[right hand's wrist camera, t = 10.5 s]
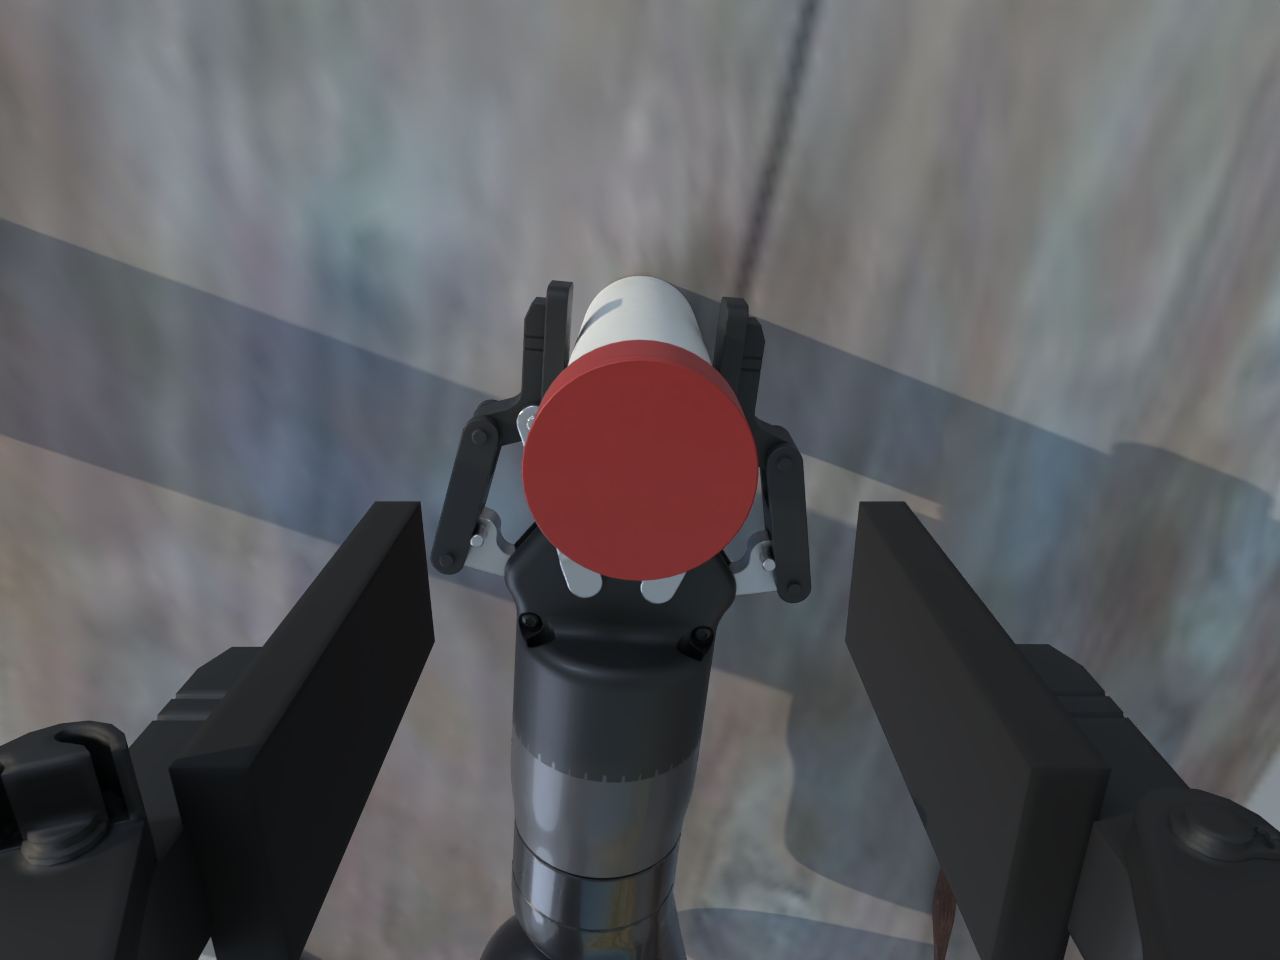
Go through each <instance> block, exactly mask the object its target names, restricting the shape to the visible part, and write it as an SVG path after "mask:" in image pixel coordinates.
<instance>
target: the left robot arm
mask: <svg viewBox="0 0 1280 960" xmlns="http://www.w3.org/2000/svg"><path fill="white" fill-rule="evenodd" d="M572 302H573V282H565V281H554V280H552V281H551V283H550V284H549V285H548V289H547V296H546V298H543V297H536V298H535V300H534V301H533V302H532V304H531V306H530V308H529V310H528V312H527V314H526V317H525V319H524V344H523V368H522V390H521V393H520V394H518V395H517V396H515V397H513V398H509V399H505V400H502V401H496V400H486V401H484V402H482V403H481V404H480V405H479V406H478V407H477V409H476V411H475V412H474V415H473V418H472V419H470V420H469V421H468V423H467V424H466V426H465V427H464V429H463V432H462V436H461V440H460V444H459V448H458V451H457V455H456V459H455V463H454V467H453V471H452V475H451V479H450V482H449V486H448V490H447V494H446V498H445V502H444V506H443V510H442V513H441V517H440V521H439V525H438V529H437V533H436V537H435V540H434V544H433V548H432V552H431V557H430V558H431V563H432V565H433V567H434V568H435V569H436V570H437V571H439V572H441V573H443V574H455V573H457V572H459V571H460V570H461V569H462V568H463V566H467V567H471V568H474V569H478V570H481V571H485V572H488V573H492V574H495V575H499V576H503V577H504V578H505V583H506V585H507V588H508V589H509V591H510V593H511V594H512V596H513V598H514V601H515V604H516V608H517V628H516V651H515V674H514V698H513V720H512V745H511V781H512V790H513V797H514V805H515V827H514V849H513V861H512V896H513V904H514V909H515V913H516V914H515V915H513V916H512V917H510V918H509V919H508V920H507V921H506V922H505V923H504V924H502V925H501V926H500V927H499V929H498V930H497V931H496V932H495V933H494V935H493V936H492V937H491V939H490V941H489V942H488V944H487V946H486V948H485V949H484V951H483V953H482V956H481V958H480V960H687V958H686V954H685V949H684V945H683V941H682V936H681V931H680V926H679V921H678V915H677V909H676V904H675V899H674V894H673V888H674V880H675V872H676V864H677V857H678V850H679V843H680V836H681V829H682V824H683V820H684V816H685V813H686V810H687V807H688V804H689V801H690V798H691V794H692V791H693V786H694V781H695V775H696V768H697V761H698V754H699V747H700V740H701V734H702V726H703V719H704V712H705V705H706V698H707V691H708V684H709V677H710V670H711V663H712V656H713V649H714V642H715V635H716V630H717V626H718V623H719V621H720V619H721V617H722V616H723V614H724V613H725V612H726V611H727V609H728V608H729V607H730V606H731V604H732V603H733V601H734V599H735V596H737V595H745V594H754V593H763V592H771V591H778V594H779V596H780V597H781V599H783V600H784V601H786V602H789V603H797V602H801V601H803V600H804V599H805V598H807V596H808V595H809V594H810V591H811V577H810V562H809V546H808V531H807V516H806V500H805V485H804V470H803V459H802V456H801V454H800V452H799V451H798V449H797V447H796V445H795V443H794V441H793V440H792V438H791V436H790V434H789V432H788V431H787V430H786V429H785V428H783V427H781V426H772V425H770V424H768V423H766V422H764V421H761V420H760V419H758V418H757V417H756V416H755V406H756V399H757V392H758V385H759V378H760V370H761V364H762V357H763V351H764V344H765V340H764V336H763V331H762V327H761V325H760V323H759V322H758V321H757V319H756V318H754V317H748V304H747V303H746V302H745V300H744V299H742V298H731V297H722V300H721V305H720V313H719V321H718V329H717V337H716V345H715V353H714V361H713V367H714V368H715V369H716V370H717V371H718V372H719V373H720V374H721V375H722V377H723V378H724V379H725V380H726V381H727V382H728V384H729V385H730V387H731V388H732V390H733V392H734V393H735V395H736V397H737V399H738V401H739V403H740V405H741V408H742V410H743V413H744V415H745V418H746V420H747V422H748V425H749V427H750V430H751V432H752V436H753V439H754V442H755V445H756V451H757V457H758V467H760V475H761V487H762V499H763V510H764V522H765V531H759V532H757V533H755V534H753V535H752V536H751V537H750V538H749V540H748V543H747V550H746V553H745V555H744V556H743V557H742V558H741V559H740V560H738V561H736V562H733V563H731V562H730V560H729V559H728V557H727V556H726V554H725V552H724V551H723V549H722V550H721V551H720V552H719V553H717V554H716V555H715V556H714V557H712V558H711V559H710V560H708V561H706V562H705V563H703V564H701V565H700V566H698V567H696V568H694V569H691V570H689V571H687V572H685V573H682V574H679V575H675V576H672V577H668V578H663V579H657V580H645V581H635V580H623V579H617V578H611V577H608V576H605V575H601V574H598V573H595V572H593V571H591V570H588V569H586V568H584V567H582V566H580V565H579V564H577V563H575V562H574V561H572V560H570V559H569V558H568V557H567V556H565V555H564V554H563V553H561V552H560V551H559V550H558V549H557V548H556V547H555V546H554V545H553V544H552V543H551V542H550V541H549V540H548V539H547V538H546V536H545V535H544V534H543V532H542V531H541V530H540V528H539V527H538V525H537V523H536V522H534V523H533V524H532V525H531V526H530V528H529V529H528V530H527V531H526V532H525V533H524V534H523V535H522V536H521V537H520V539H519V540H518V541H517V542H516V543H515V544H514V545H512V544H510V543H508V542H507V541H506V540H505V539H504V538H503V536H502V534H501V520H500V517H499V515H498V514H497V513H496V512H495V511H494V510H492V509H489V508H486V507H485V504H486V500H487V497H488V493H489V489H490V486H491V482H492V479H493V475H494V471H495V468H496V464H497V461H498V457H499V454H500V450H501V446H503V445H507V444H511V443H515V442H519V441H522V442H523V445H525V442H526V439H527V435H528V432H529V430H530V427H531V425H532V422H533V420H534V418H535V415H536V413H537V410H538V408H539V406H540V403H541V401H542V399H543V397H544V395H545V393H546V392H547V390H548V388H549V387H550V385H551V384H552V382H553V381H554V380H555V379H556V378H557V376H558V375H559V374H560V373H561V372H562V371H563V370H564V369H565V368H566V367H568V364H569V351H570V334H571V318H572Z"/></svg>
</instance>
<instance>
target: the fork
mask: <svg viewBox="0 0 1280 960" xmlns="http://www.w3.org/2000/svg"><path fill="white" fill-rule="evenodd" d="M955 908H956V900H955V897H954V895H953V893H952V890H951V888H950V886H949V883H948V881H947V879H946V876H945V874H944V871H943V869H942V867H941V870H940V874H939V878H938V882H937V886H936V890H935V895H934V900H933V934H934V960H945V956H946V951H947V947H948V943H949V939H950V934H951V930H952V926H953V922H954V917H955Z"/></svg>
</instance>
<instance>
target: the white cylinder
mask: <svg viewBox="0 0 1280 960" xmlns="http://www.w3.org/2000/svg"><path fill="white" fill-rule="evenodd" d="M626 340H655V341H660V342H665V343H669V344H672V345H675V346H678V347H681V348H684V349H686V350H688V351H690V352H692V353H694V354H696V355H697V356H699V357H700V358H702V359H704V360H705V361H707V362H708V363H709V364H710V365H711V366H712V364H711V361H710V358H709V355H708V353H707V350H706V347H705V344H704V341H703V338H702V335H701V333H700V330H699V327H698V324H697V321H696V318H695V316H694V313H693V310H692V308H691V306H690V304H689V303H688V301H687V300H686V298H685V297H684V296H683V295H682V294H681V293H680V292H679V291H678V290H677V289H676V288H674V287H673V286H672V285H670V284H668V283H666V282H664V281H662V280H660V279H657V278H653V277H648V276H632V277H627V278H623V279H620V280H618V281H616V282H614V283H612V284H610V285H608V286H607V287H606V288H604V289H603V290H602V291H601V292H600V293H599V294H598V295H597V296H596V297H595V298H594V300H593V301H592V303H591V304H590V306H589V308H588V311H587V313H586V316H585V318H584V321H583V324H582V327H581V330H580V333H579V335H578V338H577V341H576V344H575V347H574V350H573V352H572V355H571V358H570V361H569V364H568V366H569V365H570V364H571V363H572V362H574V361H575V360H577V359H578V358H579V357H581V356H582V355H584V354H586V353H588V352H590V351H592V350H594V349H596V348H599V347H602V346H605V345H607V344H610V343H615V342H620V341H626Z"/></svg>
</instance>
